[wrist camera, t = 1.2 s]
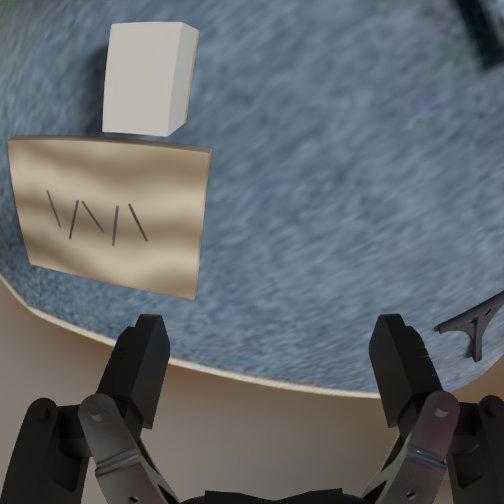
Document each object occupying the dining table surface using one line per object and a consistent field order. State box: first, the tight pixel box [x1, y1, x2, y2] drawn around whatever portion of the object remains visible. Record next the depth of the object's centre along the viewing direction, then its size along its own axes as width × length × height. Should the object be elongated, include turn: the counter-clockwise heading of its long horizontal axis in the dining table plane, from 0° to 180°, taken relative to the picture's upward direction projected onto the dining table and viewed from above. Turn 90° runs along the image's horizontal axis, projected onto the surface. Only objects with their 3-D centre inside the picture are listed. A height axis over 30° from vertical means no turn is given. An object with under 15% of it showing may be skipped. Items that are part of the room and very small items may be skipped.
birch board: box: [7, 136, 212, 299], centre depth 28 cm, size 16×22×2 cm
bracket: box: [438, 291, 504, 362], centre depth 37 cm, size 14×15×3 cm
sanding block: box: [103, 22, 199, 137], centre depth 19 cm, size 8×5×6 cm, turn 170°
